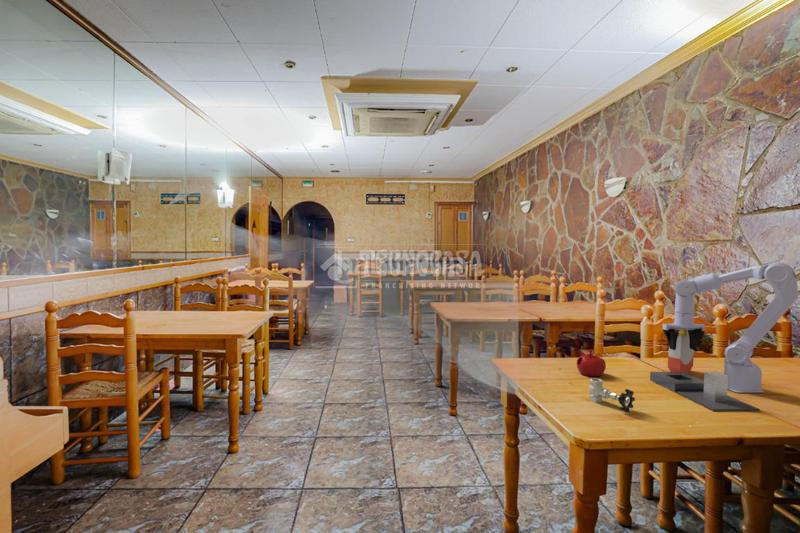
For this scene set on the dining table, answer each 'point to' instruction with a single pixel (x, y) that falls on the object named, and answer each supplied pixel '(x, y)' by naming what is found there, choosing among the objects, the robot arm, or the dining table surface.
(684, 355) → the french fries container
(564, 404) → the dining table surface
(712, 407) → the rubber mat
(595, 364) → the pomegranate
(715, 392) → the steel peg
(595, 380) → the valve
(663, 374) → the socket block
